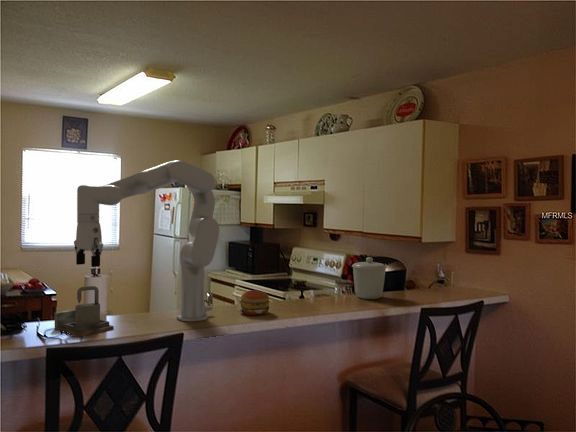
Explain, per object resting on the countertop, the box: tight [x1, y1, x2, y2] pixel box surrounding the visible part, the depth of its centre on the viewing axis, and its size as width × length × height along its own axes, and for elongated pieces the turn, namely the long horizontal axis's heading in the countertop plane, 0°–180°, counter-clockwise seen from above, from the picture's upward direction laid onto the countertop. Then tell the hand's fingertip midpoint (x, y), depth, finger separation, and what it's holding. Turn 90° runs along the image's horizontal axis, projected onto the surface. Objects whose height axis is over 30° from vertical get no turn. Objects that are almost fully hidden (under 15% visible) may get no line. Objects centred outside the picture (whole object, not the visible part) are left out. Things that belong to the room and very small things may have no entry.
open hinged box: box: [54, 309, 115, 338], centre depth 184 cm, size 14×16×6 cm
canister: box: [351, 256, 388, 300], centre depth 257 cm, size 18×18×21 cm
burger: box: [238, 289, 271, 316], centre depth 216 cm, size 13×14×10 cm
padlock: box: [75, 285, 101, 327], centre depth 182 cm, size 4×8×15 cm, turn 121°
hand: (88, 265), depth 182 cm, fingers open, 9 cm apart
